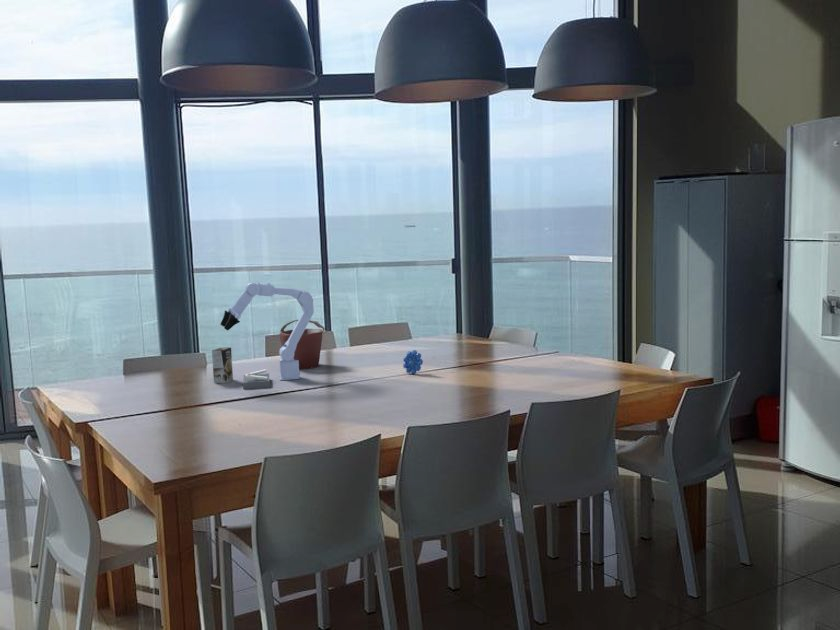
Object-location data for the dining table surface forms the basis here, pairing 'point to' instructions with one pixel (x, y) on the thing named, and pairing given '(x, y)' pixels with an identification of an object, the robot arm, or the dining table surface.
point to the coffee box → (222, 365)
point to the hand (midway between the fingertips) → (223, 327)
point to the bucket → (306, 345)
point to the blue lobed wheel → (412, 362)
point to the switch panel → (256, 382)
